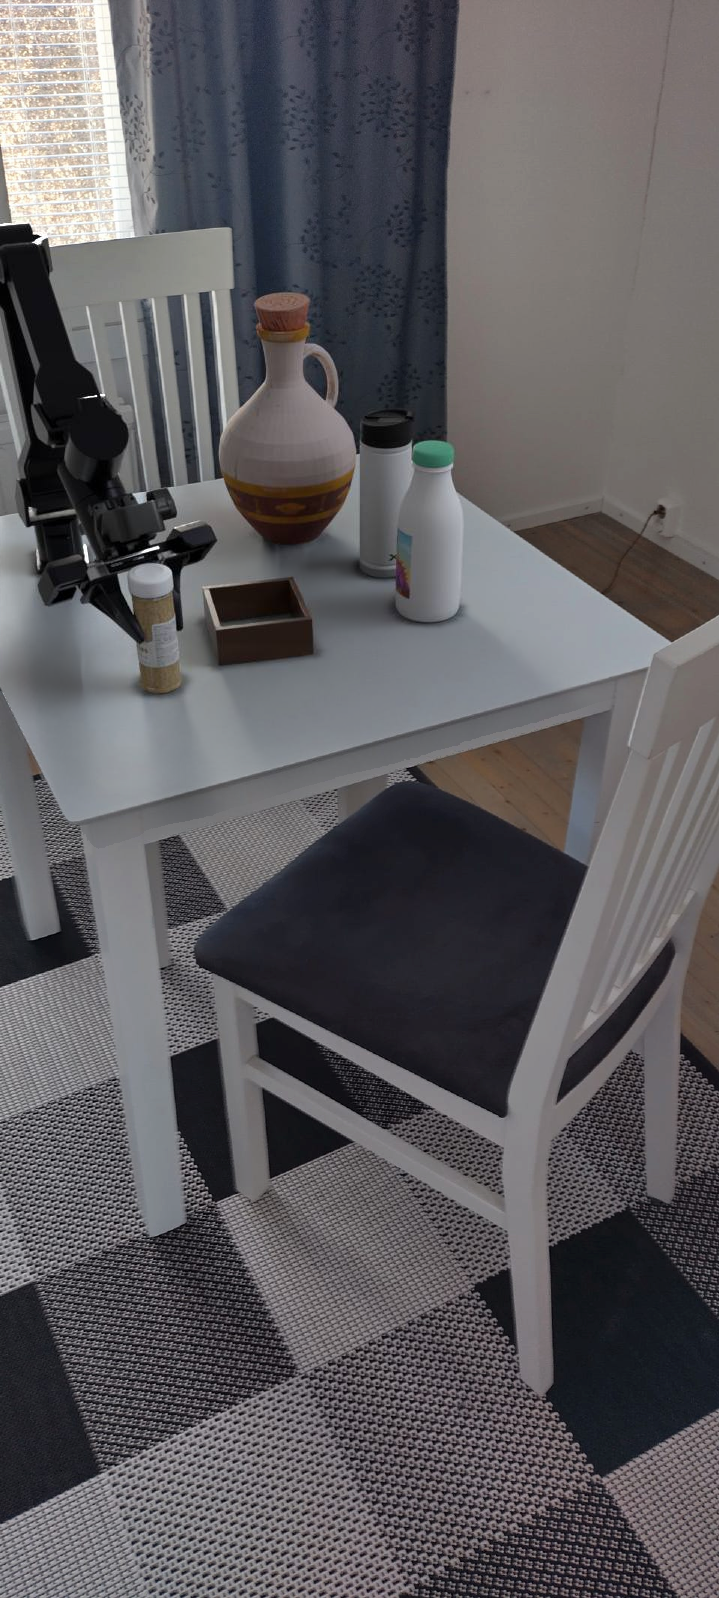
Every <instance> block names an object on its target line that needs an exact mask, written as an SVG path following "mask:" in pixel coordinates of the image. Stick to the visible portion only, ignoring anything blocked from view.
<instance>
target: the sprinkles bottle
mask: <svg viewBox="0 0 719 1598" xmlns="http://www.w3.org/2000/svg"><path fill="white" fill-rule="evenodd" d="M126 577H127V578H126V579H127V588H128V591H129V594H130V596H131V603H132V613H133V615H134V617H135V619H136V621H137V622H138V624H139V626H140V629H141V632H142V634H143V637H144V642H143V643H142V644H138V643H137V642H136V641H135V642H136V653H137V654H136V655H137V660H138V666H139V675H140V679H139V684H140V687H141V688H142V689H143V690H144V691H146V692H148V693H151V694H165V693H170V692H172V691H175V690H177V689H178V688H180V686H181V685H182V681H183V679H182V676H181V671H180V661H179V658H180V652H179V651H180V650H179V642H178V631H177V629H176V618H175V612H174V605H173V594H172V591H173V577H172V571H171V570H170V569H169V568H168V567H167V566H165V565H162V564H157V563H148V564H141V565H138V566H135V567H134V568H132V569H131V570H130V571H127V576H126Z"/></svg>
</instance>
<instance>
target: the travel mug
mask: <svg viewBox="0 0 719 1598" xmlns="http://www.w3.org/2000/svg"><path fill="white" fill-rule="evenodd" d="M416 414H417V413H416V411H410V410H407V409H404V408H384V409H379V410H374V411H371V412H369V413H366V414H365V415H364V416H363V418H361V420H360V421H359V422H360V423H359V424H360V425H359V428H360V429H359V430H360V431H359V432H360V435H359V437H360V438H359V568H360V570H361V572H363V573H364V574H366V575H368V576H370V577H374V578H380V579H382V578H383V579H386V578H387V579H388V578H394V577H395V578H396V549H397V525H398V516H399V510H400V506H401V503H402V501H403V499H404V496H405V494H406V493H407V491H408V489H409V486H410V484H411V481H412V462H413V459H412V452H413V434H412V432H413V426H412V425H413V423H414V422H415V421H416V418H417V417H416V416H417V415H416Z"/></svg>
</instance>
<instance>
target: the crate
mask: <svg viewBox="0 0 719 1598" xmlns="http://www.w3.org/2000/svg"><path fill="white" fill-rule="evenodd" d="M201 588H202V599H203V611H204V621H205V625H206V628H207V632H208V634H209V638H210V641H211V645H212V648H213V651H214V654H215V657H216V661H217V665H218V667H220V666H221V667H222V666H229V665H236V664H246V663H253V662H261V661H262V662H263V661H269V660H277V659H278V660H279V659H286V658H293V657H300V656H301V657H302V656H303V657H304V656H309V655H314V627H313V626H314V625H313V624H314V620H313V617H312V615H311V612H310V610H309V608H308V606H307V604H306V601H305V599H304V597H303V594H302V593H301V591H300V589H299V586H298V584H297V581H296V579H295V577H294V576H287V577H280V578H270V579H269V578H267V579H260V580H250V581H243V582H232V583H223V584H215V585H214V584H213V585H206V586H205V585H204V586H202V587H201ZM283 615H290V617H291V618H285V619H277V620H268V621H260V622H251V623H243V624H242V623H241V624H234V625H225V626H222V625H221V623H223V622H231V621H240V620H241V621H242V620H251V619H257V618H266V617H274V616H283Z"/></svg>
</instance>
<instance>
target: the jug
mask: <svg viewBox="0 0 719 1598" xmlns="http://www.w3.org/2000/svg"><path fill="white" fill-rule="evenodd" d="M310 303H311V299H310V297H309V296H307V295H306V294H303V293H299V292H291V291H290V292H288V291H287V292H285V291H283V292H275V293H274V292H273V293H269V294H266V295H263V296H260V297H259V298H257V299H256V300H255V301H254V303H253V306H254V309H255V312H256V315H257V318H258V321H259V322H258V323H256V325H255V329H256V333H257V336H258V338H259V339H260V341H261V345H262V350H263V353H264V361H265V370H266V372H265V379H264V382H263V383H262V384H261V386H259V388H258V389H257V390H256V391H255V392H254V394H253V395H252V396H251V397H250V398H249V399H248V400H247V401H246V402H245V403H244V404H243V405H241V407H239V409H237V411H236V412H235V413H234V414H233V415H232V416H231V418H229V419H228V421H227V423H226V425H225V427H224V429H223V431H222V432H221V435H220V439H219V446H218V460H219V467H220V472H221V476H222V478H223V481H224V484H225V488H226V490H227V492H228V494H229V496H230V499H231V501H232V503H233V505H234V507H235V509H236V510H237V511H238V513H240V515H241V516H242V517H243V518H244V520H245V521H246V522H247V523H248V524H249V525H250V526H251V527H252V528H253V529H254V530H255V531H256V532H257V533H258V534H259V535H260V536H261V537H262V538H263V539H264V540H266V541H267V542H270V543H272V544H276V545H283V546H296V545H303V544H306V543H307V544H308V543H310V542H312V541H315V539H317V538H318V537H320V535H321V534H322V533H323V532H324V531H325V529H326V528H327V527H328V526H329V525H330V524H331V523H332V521H333V520H334V518H335V517H336V516H337V515H338V514H339V512H340V510H341V509H342V508H343V506H344V504H345V502H346V499H347V498H348V497H347V496H348V494H349V492H350V490H351V487H352V481H353V478H354V474H355V469H356V465H357V464H356V461H357V447H356V442H355V437H354V433H353V431H352V429H351V428H350V426H349V424H348V423H347V421H346V419H345V417H343V416H342V414H340V413H339V412H338V411H337V410H336V409H335V408H336V404H337V402H338V396H339V377H338V371H337V368H336V366H335V365H336V364H335V362H334V360H333V358H332V356H331V355H330V354H329V352H328V351H327V350H326V349H325V348H323V347H322V346H321V345H319V344H316V343H306V339H307V338H308V337H309V334H310V329H311V324H310V322H308V321H307V318H308V312H309V308H310ZM310 356H312V357H315V358H316V359H317V360H318V361H319V362H320V364H321V365H322V367H323V369H324V372H325V375H326V381H327V391H326V398H325V399H324V398H322V396H320V395H319V393H318V392H317V391H316V390H315V389H314V388H313V387H312V386H311V385H310V384H309V383H308V382H307V381H306V379H305V376H304V369H303V368H304V367H303V366H304V360H305V359H306V358H307V357H310Z"/></svg>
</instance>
